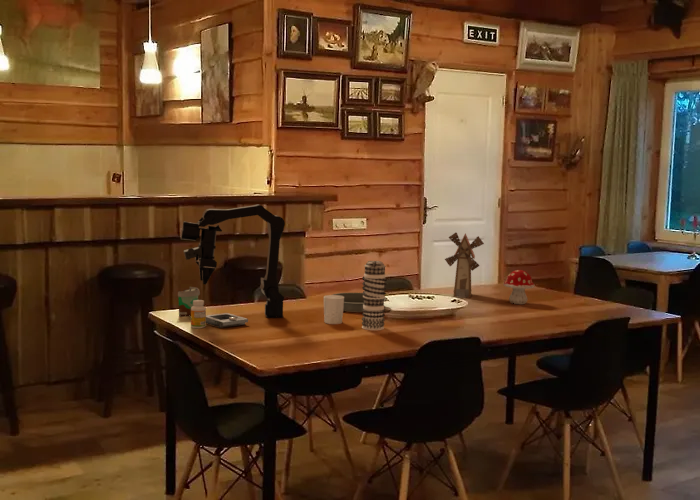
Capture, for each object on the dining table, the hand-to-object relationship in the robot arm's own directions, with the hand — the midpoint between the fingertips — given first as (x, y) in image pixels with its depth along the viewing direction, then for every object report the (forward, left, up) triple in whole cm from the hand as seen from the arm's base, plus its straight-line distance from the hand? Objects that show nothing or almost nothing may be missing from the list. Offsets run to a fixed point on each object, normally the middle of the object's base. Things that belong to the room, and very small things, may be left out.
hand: (203, 282), depth 315 cm
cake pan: (-65, -19, -15) cm, 69 cm away
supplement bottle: (+2, +15, -14) cm, 21 cm away
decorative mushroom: (-140, -24, -14) cm, 143 cm away
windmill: (-121, -44, -14) cm, 129 cm away
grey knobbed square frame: (-7, +9, -14) cm, 18 cm away
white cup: (-49, +11, -14) cm, 52 cm away
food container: (+4, -8, -14) cm, 17 cm away
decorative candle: (-62, +22, -14) cm, 67 cm away
